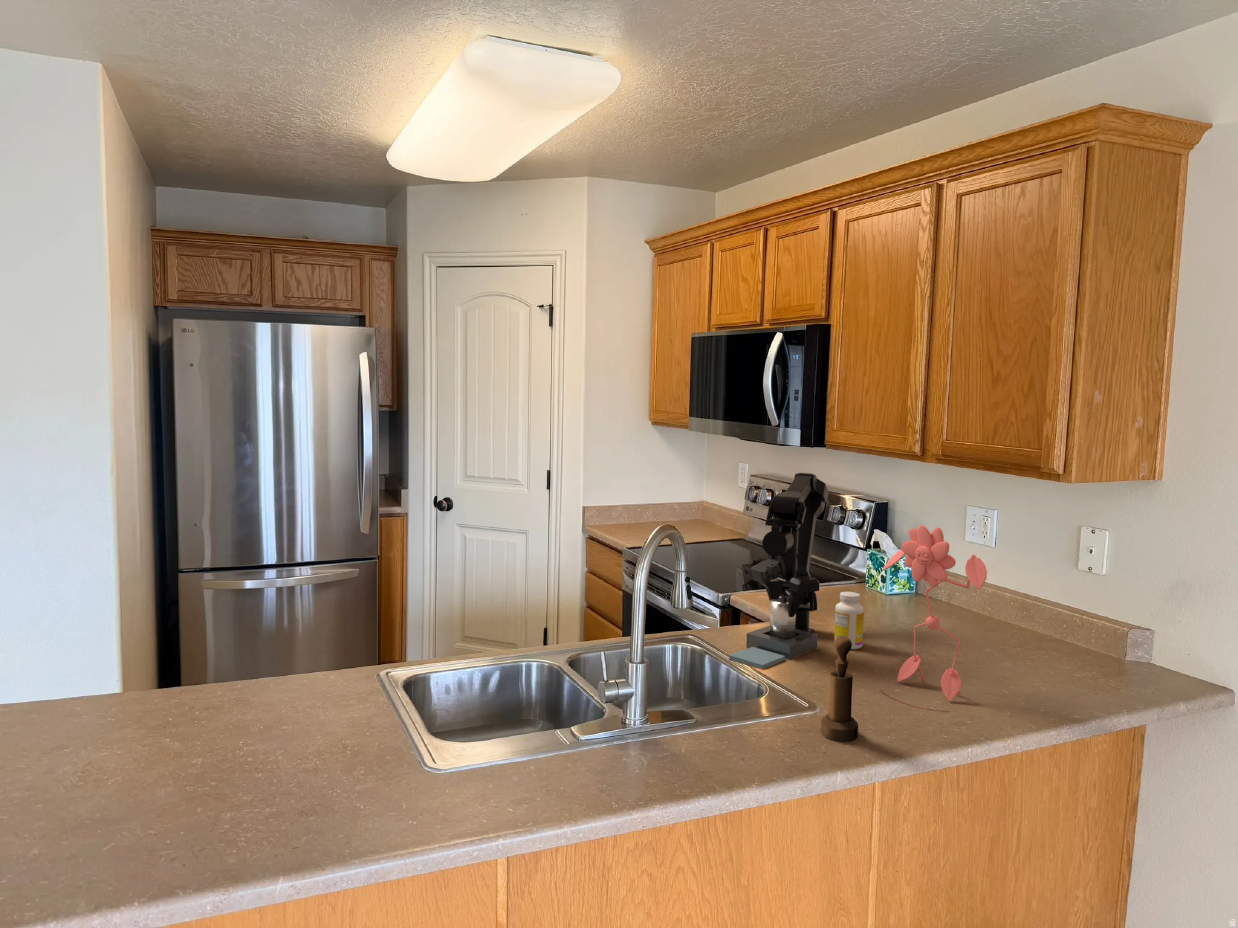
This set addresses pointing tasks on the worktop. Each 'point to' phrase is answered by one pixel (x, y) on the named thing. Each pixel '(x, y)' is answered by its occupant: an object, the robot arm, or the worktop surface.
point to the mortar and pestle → (840, 698)
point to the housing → (782, 642)
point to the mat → (757, 657)
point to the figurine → (930, 564)
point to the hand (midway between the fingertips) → (782, 613)
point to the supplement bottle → (849, 619)
